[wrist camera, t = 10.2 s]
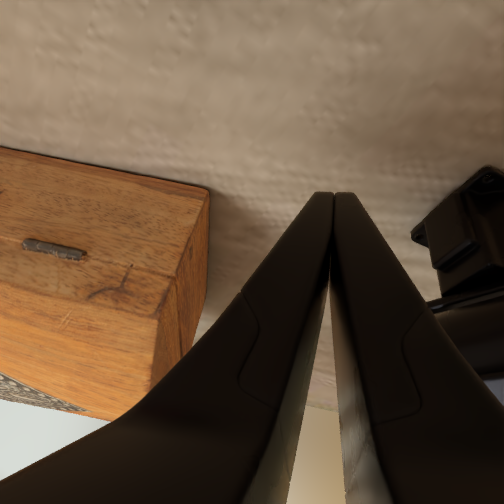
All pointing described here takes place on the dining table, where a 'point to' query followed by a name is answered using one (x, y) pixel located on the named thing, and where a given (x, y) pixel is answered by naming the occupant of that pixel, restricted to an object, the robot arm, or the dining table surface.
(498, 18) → the dining table surface
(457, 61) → the dining table surface
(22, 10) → the dining table surface
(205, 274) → the wooden box
